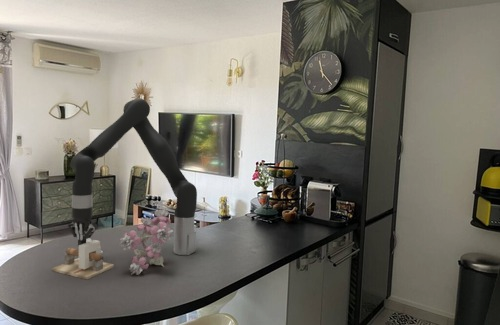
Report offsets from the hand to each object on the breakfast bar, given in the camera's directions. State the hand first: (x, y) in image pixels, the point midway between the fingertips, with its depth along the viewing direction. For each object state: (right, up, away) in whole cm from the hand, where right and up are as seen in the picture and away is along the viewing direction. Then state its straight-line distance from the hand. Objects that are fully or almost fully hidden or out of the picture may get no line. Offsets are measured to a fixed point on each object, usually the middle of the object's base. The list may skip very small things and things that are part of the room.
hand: (82, 248), depth 145 cm
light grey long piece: (-5, -7, +20) cm, 22 cm away
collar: (+3, -7, -1) cm, 7 cm away
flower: (+25, -10, +3) cm, 27 cm away
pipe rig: (0, -8, +1) cm, 8 cm away
